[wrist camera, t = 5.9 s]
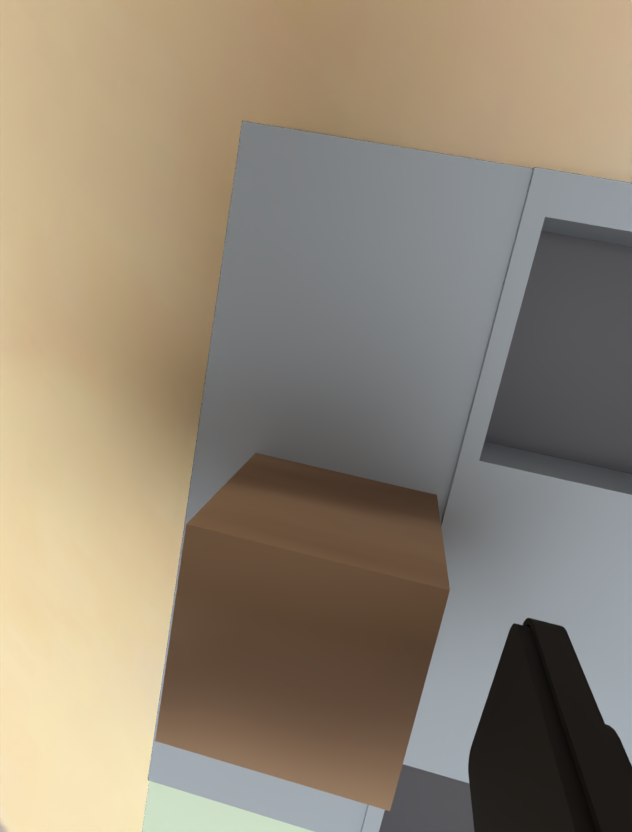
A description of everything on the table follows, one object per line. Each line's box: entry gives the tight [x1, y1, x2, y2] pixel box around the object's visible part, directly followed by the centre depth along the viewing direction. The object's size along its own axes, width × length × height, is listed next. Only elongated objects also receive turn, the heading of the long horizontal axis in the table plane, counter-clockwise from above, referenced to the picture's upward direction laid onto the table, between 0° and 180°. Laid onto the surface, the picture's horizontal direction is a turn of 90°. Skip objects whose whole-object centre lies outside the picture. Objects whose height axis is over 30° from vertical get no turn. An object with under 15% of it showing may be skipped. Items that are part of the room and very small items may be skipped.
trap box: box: [142, 121, 632, 832], centre depth 17 cm, size 27×14×2 cm, turn 169°
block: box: [155, 453, 450, 811], centre depth 13 cm, size 5×5×5 cm
